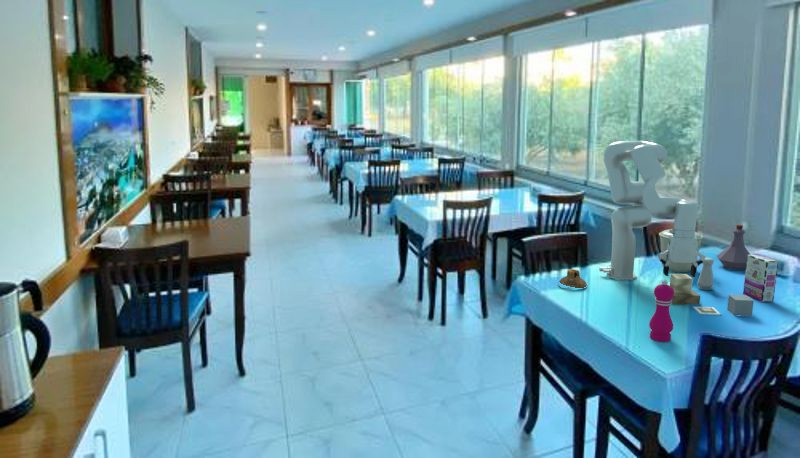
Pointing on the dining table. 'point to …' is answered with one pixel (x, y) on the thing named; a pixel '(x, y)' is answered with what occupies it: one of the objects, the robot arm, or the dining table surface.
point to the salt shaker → (706, 275)
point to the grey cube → (740, 305)
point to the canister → (664, 245)
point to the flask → (735, 252)
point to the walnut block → (686, 298)
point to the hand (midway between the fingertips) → (679, 275)
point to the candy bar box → (760, 278)
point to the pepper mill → (662, 313)
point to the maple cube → (681, 283)
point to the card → (707, 310)
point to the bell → (573, 279)
